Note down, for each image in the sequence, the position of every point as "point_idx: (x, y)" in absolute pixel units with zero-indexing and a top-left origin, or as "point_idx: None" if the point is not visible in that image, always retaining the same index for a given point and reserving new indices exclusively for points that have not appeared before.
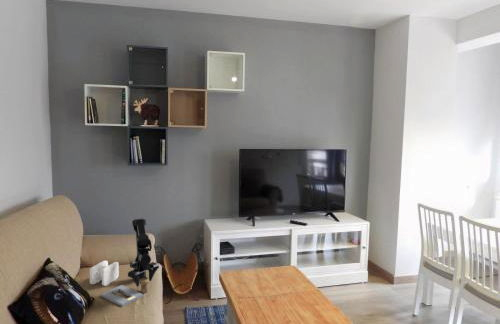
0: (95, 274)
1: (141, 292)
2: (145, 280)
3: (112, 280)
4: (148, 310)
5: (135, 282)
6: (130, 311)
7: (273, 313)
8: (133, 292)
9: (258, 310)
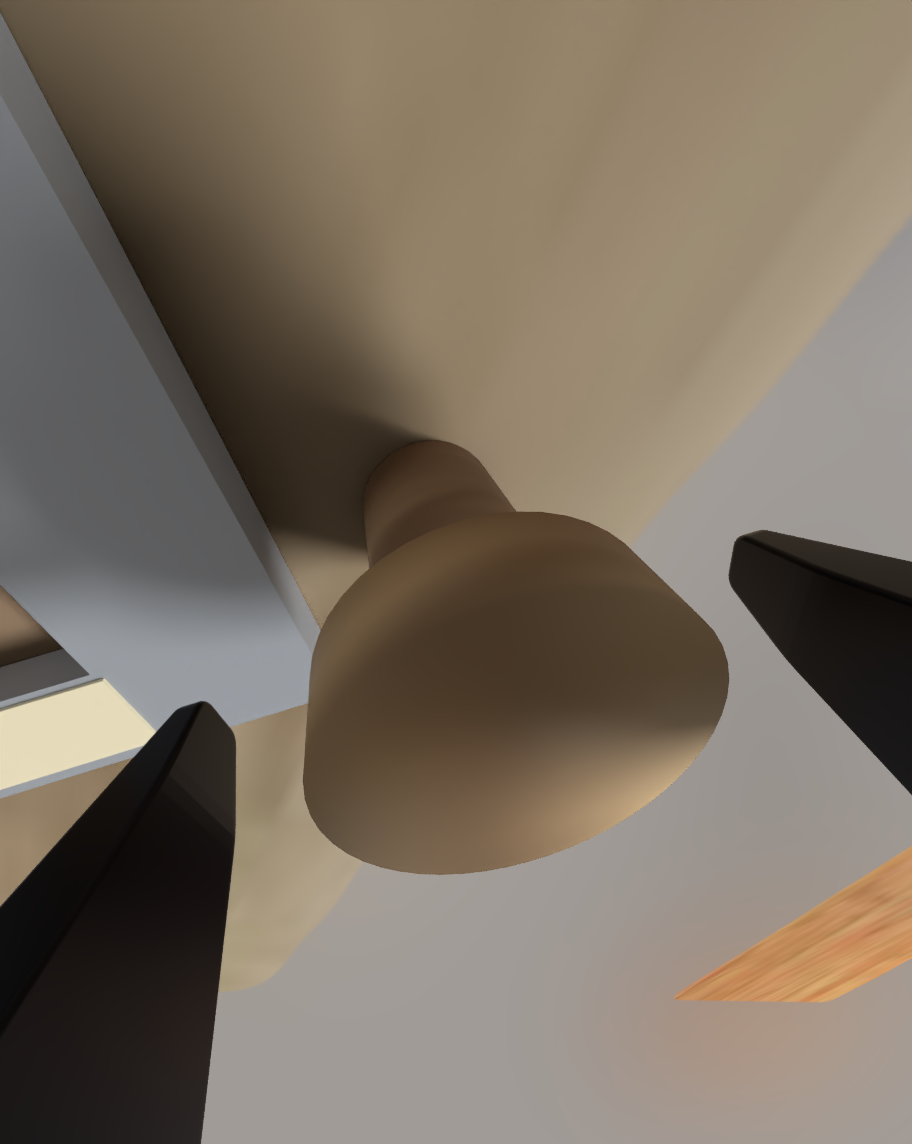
0: None
1: (364, 518)
2: (549, 804)
3: None
4: (279, 914)
5: (26, 924)
6: None
7: (772, 980)
8: (128, 525)
9: (768, 967)
